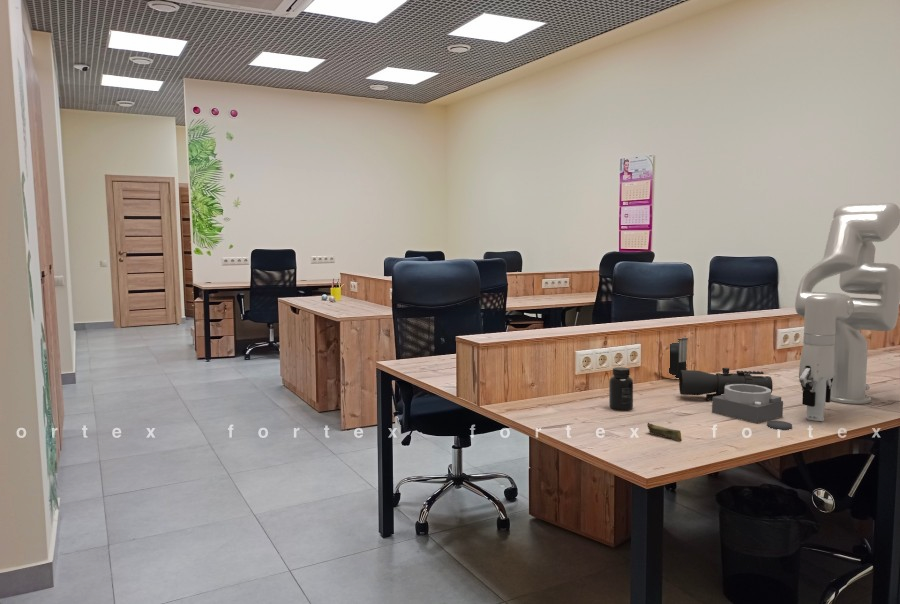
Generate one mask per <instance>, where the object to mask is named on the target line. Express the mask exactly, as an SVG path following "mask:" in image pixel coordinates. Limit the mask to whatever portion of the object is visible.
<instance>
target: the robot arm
mask: <svg viewBox="0 0 900 604" xmlns="http://www.w3.org/2000/svg"><path fill="white" fill-rule="evenodd" d="M832 216H833V217H832V218H833V220H832V221H831V225H830V228H829V232H828V237H827V241H826V245H825V249H824V253H823V258H822V259H821V260H819V261H818V262H817V263H815V264H814V265H813V266H812V267H811V268H809V269H808V271H806V272H805V274H804V275H803V276H802V278H801V279H800V282H799V285H798V289H797V293H796V296H795V302H794V307H795V312H796V314H797V315H798V316H799V317H801V318H803V319H804V321H803V322H804V324H803V326H804V327H803V342H802V343H803V346H802V348H801V353H800V360H799V370H798V378H799V379H798V381H799V382H800V386H801V391H802V401H801V403H802V405H804V406H806V407H807V406H811V407H814V406H815V394H816V392H814V389H815V386H816V383H817V382H820V381H821V378H825V377H826V399H825V403H827V404H828V403H831V401H832V402H836V403H840V404H841V403H842V404H855V405H861V404H862V405H864V404H869V403H871V402H872V398H871V396H869V395H866V392H867V391H869V390H870V388H871V387H870V385H869V384H867V370H868V369H867V368H868V353H869V351H868V350H869V349H868V348H869V347H868V341H867V339H866V338H865V336H864V335H863V333H862V332H860V331H861V330H862V331H873V332H874V331H876V332H890V331H893V330H894V329H895V327H896V326H897V324H898V318H899V310H900V268H899V266H898V265H896V264H893V263H888V262H887V263H886V262H885V263H884V262H883V263H882V262H881V263H880V262H879V263H878V262H875V257H876V256H875V255H876V245H874V242H875V243H876V242H877V243H879V242H880V243H881V242H884V241H887V240H888V239H889V238H890V237H891V236H892V234H893V233H894V232H895V231H896V230H897V229H898V227H899V225H900V207H899V206H898V205H897V204H896V203H893V202H892V203H891V202H880V203H877V202H876V203H853V204H845V205H841V206H838V207H837V208H835V209H834V212H833V215H832ZM837 275H839V281H838V282H839V283H838V284H839V288H840V290H841V291H843V292H845V293H847V294H845V293H841V292H840V293H838V292H824V291H822V292H821V291H820V292H819V291H813V289H814V288H815V286H817V285H818V284H819V283H821V282H822V281H825V280H826V279H829V278H832V277H834V276H837ZM848 294H853V295H854V294H856V295H875V296H880V298H867V297H851V296H850V295H848ZM809 377H810V378H813V380H809ZM809 383H812V385H811V386H810V384H809Z"/></svg>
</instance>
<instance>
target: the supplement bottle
mask: <svg viewBox="0 0 900 604" xmlns="http://www.w3.org/2000/svg"><path fill="white" fill-rule="evenodd" d="M612 375H613V376H611V377H610V379H609V384H608V385H609V393H608V395H609V398H608V399H609V401H608V402H609V403H608V405H609V408H610V409H611V410H613V411H617V412H618V411H621V412H625V411H631V410H632V409H633V408H634V380H633V379H632V378H631V377H630V375H631V374H630V368H629V367H622V366H617V367H613V368H612Z"/></svg>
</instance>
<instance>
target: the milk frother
mask: <svg viewBox="0 0 900 604" xmlns="http://www.w3.org/2000/svg"><path fill="white" fill-rule="evenodd" d="M688 339H689V337H688V338H682V339H678V340H679V341H678V342H679V343H672V344H670V368H669V373H670V374H672V375H676V376H675V377H676V378H679V374H680V370H688V369H687V368H686V367H687V364H686V360H687V359H688V357H687V356H688Z"/></svg>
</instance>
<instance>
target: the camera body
mask: <svg viewBox="0 0 900 604" xmlns="http://www.w3.org/2000/svg"><path fill="white" fill-rule="evenodd" d="M783 412H784V401H783V400H782V396H779V395H774V394H773V395H772V393H771V389H769V388H766V387H763V386H757V385H749V384H731V385H726V386H725V388H724V394H721V395H720V396H715V397H712V401H711V413H712V414H713V413H714V414H716V415H717V414H718V415H720V416H725V417H730V418H734V419H737V418H738V420H741V419H742V420H741V421H745V422H749V423H753V424H760V423H761V424H762V423H764V422H768V421H773V420H775V419H779V418H783Z"/></svg>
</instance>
